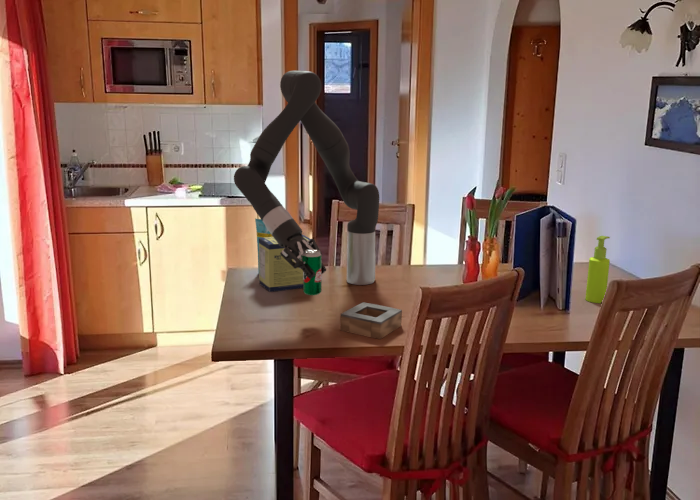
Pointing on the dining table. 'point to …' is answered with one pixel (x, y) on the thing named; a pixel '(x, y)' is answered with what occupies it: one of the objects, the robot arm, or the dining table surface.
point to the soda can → (314, 262)
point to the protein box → (277, 267)
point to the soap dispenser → (597, 273)
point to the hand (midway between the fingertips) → (318, 274)
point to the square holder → (371, 320)
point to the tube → (261, 233)
